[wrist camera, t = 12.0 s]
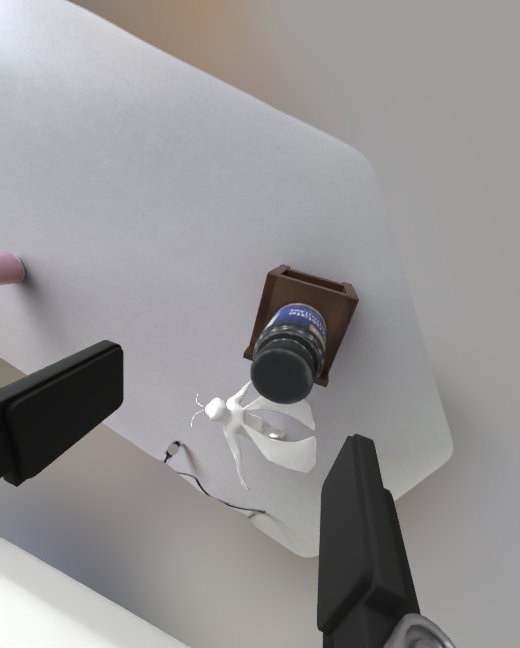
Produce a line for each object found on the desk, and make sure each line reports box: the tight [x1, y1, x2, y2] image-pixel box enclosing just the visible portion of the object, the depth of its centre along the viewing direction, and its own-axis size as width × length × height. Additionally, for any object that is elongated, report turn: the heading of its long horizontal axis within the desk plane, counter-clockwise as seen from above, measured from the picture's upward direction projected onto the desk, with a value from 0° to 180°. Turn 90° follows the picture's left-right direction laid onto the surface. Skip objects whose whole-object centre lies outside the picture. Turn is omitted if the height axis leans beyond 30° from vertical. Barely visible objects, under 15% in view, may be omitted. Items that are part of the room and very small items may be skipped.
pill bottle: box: [251, 303, 326, 405], centre depth 23 cm, size 6×6×11 cm
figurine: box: [191, 381, 317, 490], centre depth 36 cm, size 16×11×20 cm
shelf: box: [243, 265, 359, 387], centre depth 31 cm, size 10×10×11 cm
